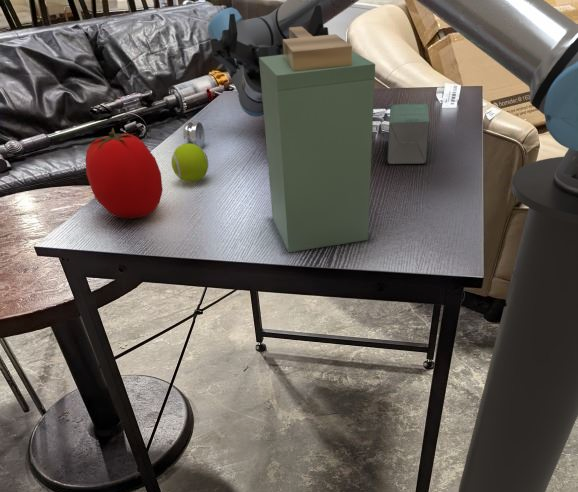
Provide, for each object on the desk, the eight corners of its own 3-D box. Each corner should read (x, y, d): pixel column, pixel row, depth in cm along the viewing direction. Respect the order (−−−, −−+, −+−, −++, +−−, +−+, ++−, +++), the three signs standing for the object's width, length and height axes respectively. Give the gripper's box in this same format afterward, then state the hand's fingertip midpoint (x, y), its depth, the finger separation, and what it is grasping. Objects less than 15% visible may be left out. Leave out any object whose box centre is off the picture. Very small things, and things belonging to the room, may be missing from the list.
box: (424, 141, 108) (428, 101, 104) (426, 164, 99) (430, 121, 94) (388, 141, 110) (390, 102, 105) (387, 165, 100) (389, 122, 95)
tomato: (152, 232, 84) (130, 145, 75) (85, 227, 87) (57, 143, 78) (182, 202, 92) (166, 121, 83) (120, 199, 95) (98, 120, 86)
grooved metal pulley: (197, 151, 113) (193, 126, 109) (185, 150, 113) (180, 126, 110) (206, 143, 116) (202, 119, 113) (193, 143, 117) (189, 119, 114)
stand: (368, 240, 77) (375, 63, 62) (288, 252, 76) (276, 75, 61) (344, 208, 86) (345, 47, 71) (272, 219, 84) (258, 57, 70)
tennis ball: (171, 179, 101) (163, 143, 96) (204, 172, 103) (198, 136, 98) (181, 190, 96) (174, 152, 92) (216, 182, 98) (210, 145, 94)
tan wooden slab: (351, 65, 62) (352, 45, 61) (293, 71, 62) (292, 51, 61) (319, 37, 78) (318, 21, 77) (272, 42, 78) (271, 25, 77)
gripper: (327, 87, 104) (357, 37, 84) (202, 102, 101) (201, 54, 81) (322, 45, 103) (351, -16, 82) (194, 59, 100) (192, -1, 79)
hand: (277, 19), depth 81 cm, fingers open, 13 cm apart
